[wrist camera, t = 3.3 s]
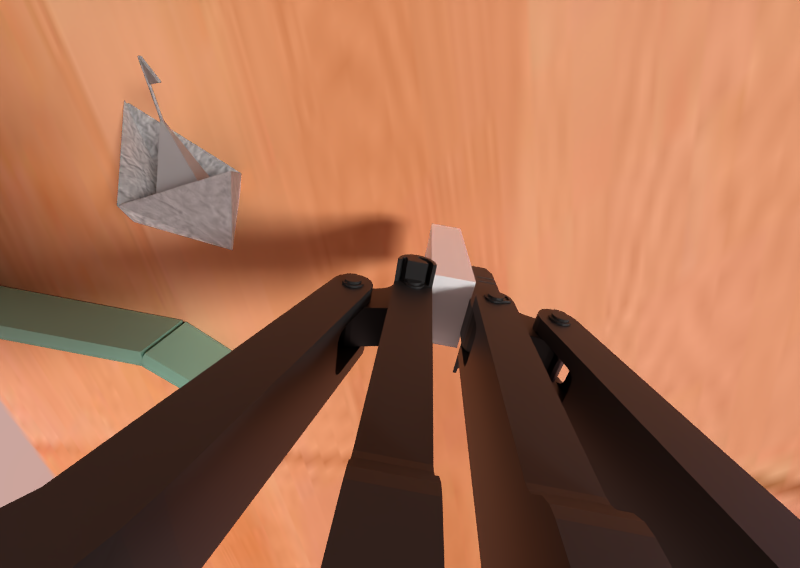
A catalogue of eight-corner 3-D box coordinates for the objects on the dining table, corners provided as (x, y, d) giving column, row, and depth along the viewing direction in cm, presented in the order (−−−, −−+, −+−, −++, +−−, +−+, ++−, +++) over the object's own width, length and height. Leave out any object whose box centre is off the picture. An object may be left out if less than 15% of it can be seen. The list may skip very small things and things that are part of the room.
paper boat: (104, 215, 20) (1, 33, 14) (207, 187, 24) (159, 35, 18) (197, 315, 15) (97, 96, 9) (308, 259, 19) (288, 81, 13)
